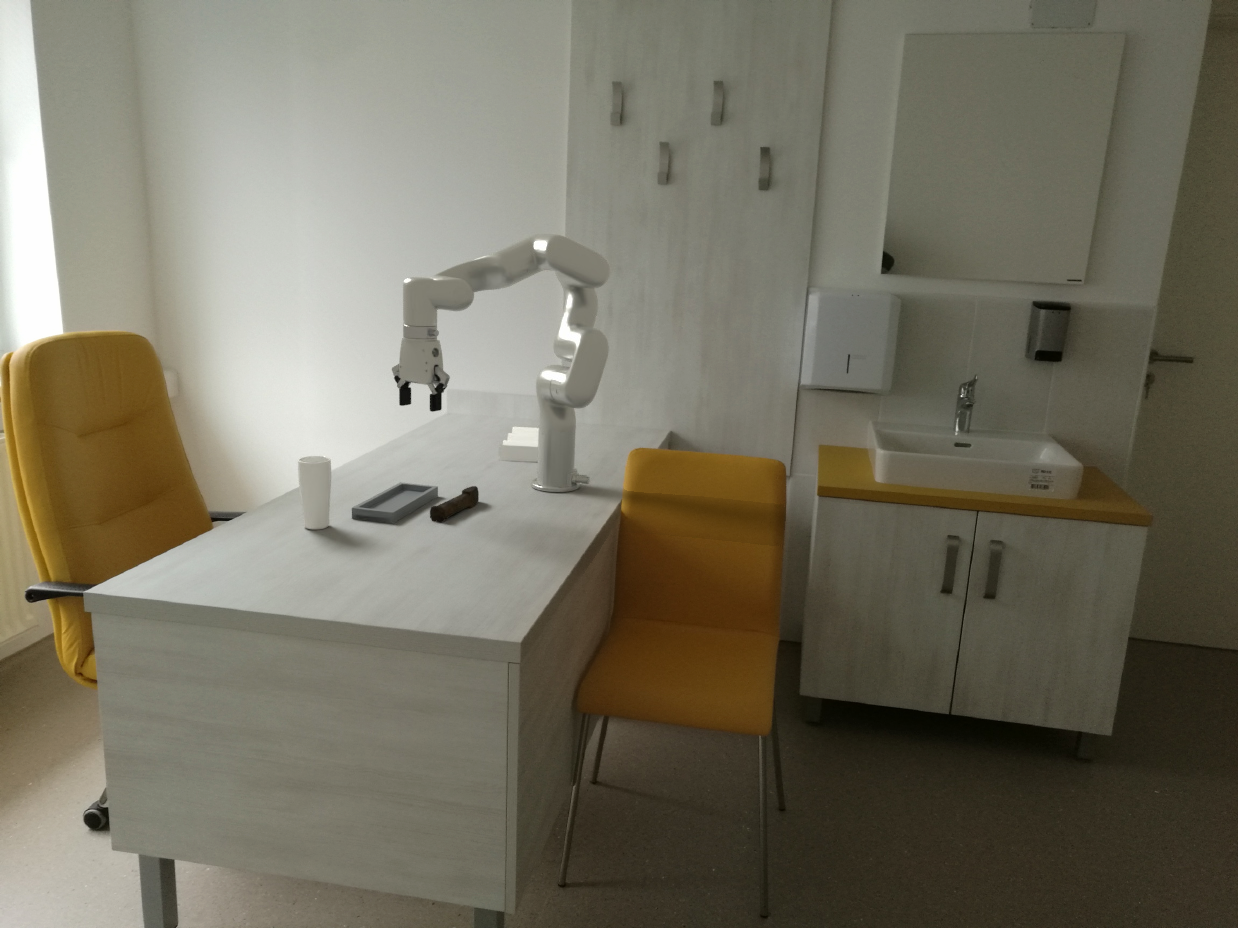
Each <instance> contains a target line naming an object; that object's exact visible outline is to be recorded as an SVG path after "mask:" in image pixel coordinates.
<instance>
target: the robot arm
mask: <svg viewBox="0 0 1238 928" xmlns="http://www.w3.org/2000/svg"><path fill="white" fill-rule="evenodd" d="M543 271H551V272H552V271H553V272H554V273H555V276H556V279H557V280H558V282H559V284H560V286H561V287H562V290H563V292H564V306H563V311H562V314H561V316H560V317H561V318H560V321H559V324H558V327H557V330H556V333H555V337H554V340H553V345H552V346H553V347H552V348H553V353H554V354H555V355H556V357H557V358H559V360H562V361H564V362H569V363H571V364H570V367H569V366H564V365H562V364H561V365H560V364H551V365H547V366H545V367H544V368H542V369H541V370H540V372H539V373H538V375H537V377H536V381H535V391H536V398H537V406H538V428H539V432H538V462H537V477H535V478H533V479H531V482H530V485H531V487H532V489H533V488H534V489H535V490H538V491H541V492H549V493H567V492H572V491H577V490H578V489H579V488H580V485H581V484H585V485H589V484H590V479H591V478H590V476H588V475H587V474H580V473H578V468H575V461H576V460H575V459H576V458H575V455H576V429H577V418H576V411H575V409H585V408H586V407H588V406H589V405H591V403H592V401H594V399H595V396H596V395H597V392H598V389H599V386H600V384H601V381H602V376H603V373H604V371H605V368H606V364H607V361H608V356H609V351H610V349H609V341H608V339H607V336H606V334H605V333H604V332H603V331H601V330H600V329H598V328H595V324H596V319H597V315H598V311H599V310H598V309H599V300H598V295H597V292H596V290H595V289H598V288H601V287H603V286H604V285H605V284H606V283H607V282H608V280H609V278H610V274H611V268H610V263H609V261H608V260H607V258H606V257H604V256H603V255H602V254H601V253H599V252H597V251H595V250H593V249H591V248H589V247H587V246H584V245H583V244H581V243H579V242H578V241H575V240H572V239H571V238H569V237H567V236H563V235H561V234H551V233H538V234H533V235H531V236H528V237H525V238H523V239H522V240H519V241H517V242H515V243H512V244H511V245H509V246H506V247H504V248H502V249H500V250H497V251H495V252H493V253H490V254H486V255H483V256H479V257H477V258H475V259H472V260H469V261H464V262H463V263H460V264H456V265H454V266H451V267H449V268H446V269H445V270H443V271H440V272H438V273H436V274H434V275H432V276H430V277H417V276H415V277H414V276H413V277H410V276H409V277H406V278H405V279H404V280H403V282H402V317H403V318H402V321H403V323H402V328H403V329H402V334H403V335H402V339H401V343H400V349H399V362H398V364H396V365H394V366H393V367H392V368H391V372H392V375H393V376H394V377H393V379H394V381H395V383H396V387H397V389H399V393H398V395H399V397H398V399H399V400H398V402H399V406H400V407H401V406H402V407H404V406H409V405H411V404H412V387H410V386H411V384H418V385H419V384H420V385H424V386H427V387H428V389H429V391H430V392H431V393H430V394H429V411H430V412H438V411H439V412H440V411H442V408H443V407H442V404H443V403H442V398H443V397H442V394H444V392H445V390H446V389H447V387H448V383H449V381H450V379H451V376H450V375H449V374H448V373H447V372H446V371H445V370H444V359H443V352H442V351H443V350H442V345H441V341H440V340H439V339H438V337H439V334H440V331H439V330H438V310H443V311H450V312H461V311H464V310H466V309H468V308H470V306H471V305H472V304H473V301H474V300H475V293H478V292H482V291H483V292H485V291H489V290H490V291H492V290H493V291H494V290H501V289H506V288H508V287H509V288H510V287H511V286H514V285H516V284H517V283H520V282H521V281H523V280H526V279H528V278H529V277H532V276H535V275H536V274H539V273H541V272H543Z"/></svg>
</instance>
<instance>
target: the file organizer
mask: <svg viewBox="0 0 1238 928" xmlns="http://www.w3.org/2000/svg"><path fill="white" fill-rule="evenodd" d="M538 432H539V427H526V426H512V429H511V432H508V433H507V438H506V439H507V440H506V439H503V441H502V444H498V461H506V462H525V463H538Z"/></svg>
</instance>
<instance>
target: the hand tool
mask: <svg viewBox="0 0 1238 928" xmlns="http://www.w3.org/2000/svg"><path fill="white" fill-rule="evenodd" d="M479 493H480V492H479V487H478V486H476V485H472V486H469V487H466V488H464V489H462V490H461V494H459V495H458V496H455V497H453V498H450V499H449V500H447V501H444V502H442V503H440V504H438V505H431V507H430V509H429V518H430V519H431V521H432V522H437V523H443V522H445V521H447V520H448V518H450V517H451V516H453V515H455V514H457V513H459V512H461V511H463V510H464V509H472V508H474V507H475V506H476V505H478V503H479V497H480V496H479Z"/></svg>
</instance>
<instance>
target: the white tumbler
mask: <svg viewBox="0 0 1238 928" xmlns="http://www.w3.org/2000/svg"><path fill="white" fill-rule="evenodd" d="M297 477H298V485H299V494H300V500H301V501H300V502H301V510H302V516H303V517H302V518H303V520H302V521H303V522H302V523H303V526H304V528H305V529H308V530H314V531H315V530H324V529H326V528H328V527H329V526H330V510H331V509H330V508H331V505H330V504H331V492H332V491H331V490H332V461H331V458H330V457H328V456H322V455H311V456H304V457H300V458H298V460H297Z"/></svg>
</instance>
